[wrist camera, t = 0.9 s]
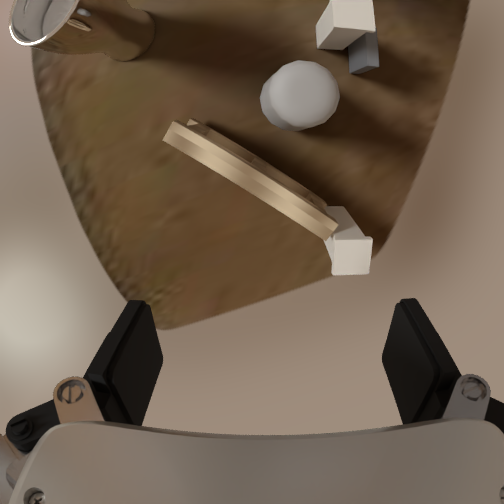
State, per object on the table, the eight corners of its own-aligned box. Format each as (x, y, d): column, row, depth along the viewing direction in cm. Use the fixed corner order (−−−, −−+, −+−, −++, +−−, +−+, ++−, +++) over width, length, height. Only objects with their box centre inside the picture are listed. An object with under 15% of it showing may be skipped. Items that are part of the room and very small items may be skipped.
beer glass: (173, 30, 25) (105, -19, 12) (125, 78, 28) (33, 68, 14) (133, -5, 23) (55, -55, 10) (88, 41, 26) (-6, 22, 12)
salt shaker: (331, 91, 28) (373, 80, 16) (303, 140, 30) (326, 159, 18) (278, 62, 27) (285, 29, 15) (249, 111, 29) (237, 110, 17)
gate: (324, 200, 31) (338, 224, 25) (314, 213, 32) (326, 241, 25) (194, 118, 29) (173, 120, 22) (185, 133, 29) (162, 140, 23)
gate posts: (312, 23, 25) (330, -9, 16) (355, 26, 24) (388, -2, 16) (316, 231, 34) (332, 275, 25) (355, 230, 33) (383, 273, 25)
